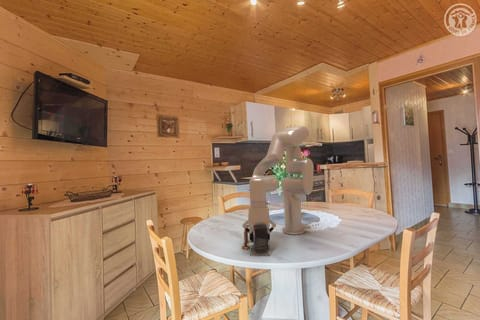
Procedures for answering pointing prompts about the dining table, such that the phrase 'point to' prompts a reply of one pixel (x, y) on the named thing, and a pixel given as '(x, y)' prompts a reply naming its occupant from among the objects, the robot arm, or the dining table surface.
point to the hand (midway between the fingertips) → (259, 241)
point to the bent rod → (245, 240)
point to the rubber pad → (259, 252)
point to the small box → (260, 237)
